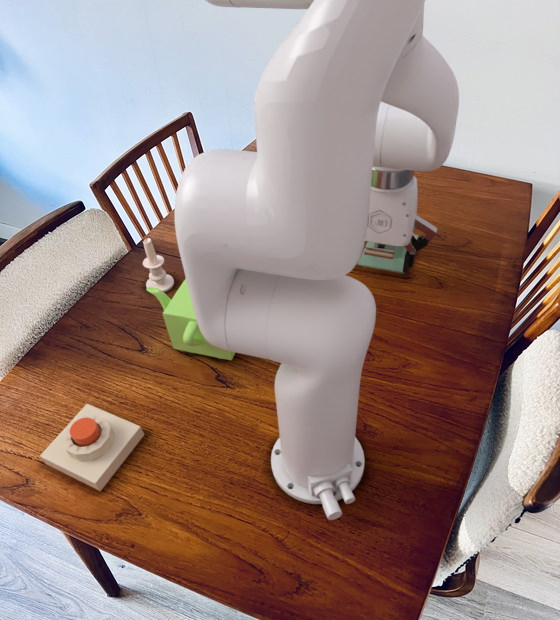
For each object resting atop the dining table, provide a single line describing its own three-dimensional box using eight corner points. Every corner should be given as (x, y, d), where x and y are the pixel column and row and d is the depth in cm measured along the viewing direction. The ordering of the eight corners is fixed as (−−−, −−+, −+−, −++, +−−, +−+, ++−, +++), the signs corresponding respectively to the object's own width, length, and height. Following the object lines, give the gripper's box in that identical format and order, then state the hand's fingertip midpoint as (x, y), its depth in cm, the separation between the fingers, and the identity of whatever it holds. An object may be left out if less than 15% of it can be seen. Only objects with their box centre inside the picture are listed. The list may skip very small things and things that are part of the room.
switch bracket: (405, 277, 95) (413, 221, 86) (357, 269, 97) (360, 213, 88) (418, 240, 102) (427, 184, 93) (373, 232, 104) (377, 177, 95)
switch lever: (392, 262, 88) (393, 254, 86) (364, 257, 90) (363, 249, 88) (409, 208, 93) (410, 199, 91) (381, 204, 94) (382, 195, 92)
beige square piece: (144, 434, 76) (137, 418, 73) (100, 491, 70) (90, 476, 67) (91, 411, 79) (82, 395, 76) (45, 464, 73) (33, 449, 70)
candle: (147, 296, 96) (131, 249, 88) (146, 278, 99) (130, 231, 91) (175, 290, 96) (162, 243, 88) (173, 273, 100) (160, 226, 92)
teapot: (159, 330, 90) (143, 282, 82) (227, 300, 94) (218, 251, 86) (197, 387, 81) (183, 339, 73) (270, 351, 85) (265, 302, 77)
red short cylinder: (105, 430, 72) (101, 422, 71) (88, 450, 70) (84, 443, 69) (85, 421, 73) (81, 413, 72) (68, 440, 71) (63, 433, 70)
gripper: (325, 175, 77) (324, 267, 90) (443, 192, 73) (424, 286, 86) (339, 152, 82) (336, 242, 95) (451, 165, 77) (432, 259, 90)
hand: (378, 263), depth 90 cm, fingers open, 9 cm apart
